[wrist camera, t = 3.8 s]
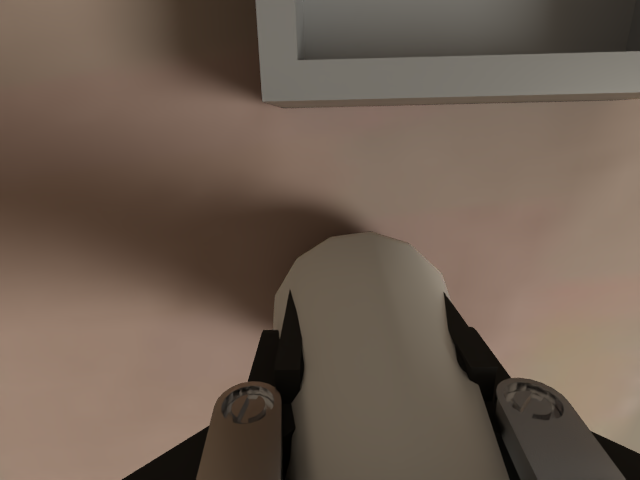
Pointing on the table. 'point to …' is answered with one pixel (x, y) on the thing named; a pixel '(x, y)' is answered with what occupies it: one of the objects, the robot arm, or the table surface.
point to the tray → (447, 51)
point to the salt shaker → (381, 370)
